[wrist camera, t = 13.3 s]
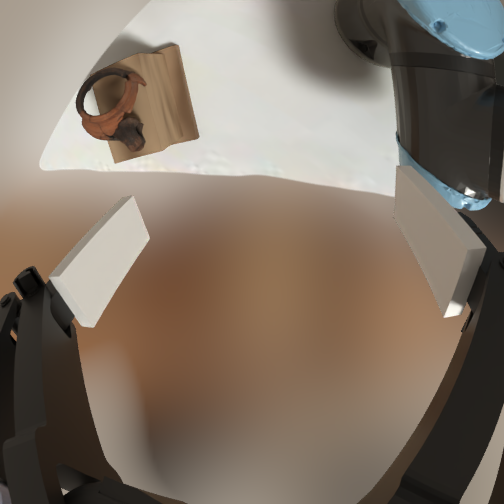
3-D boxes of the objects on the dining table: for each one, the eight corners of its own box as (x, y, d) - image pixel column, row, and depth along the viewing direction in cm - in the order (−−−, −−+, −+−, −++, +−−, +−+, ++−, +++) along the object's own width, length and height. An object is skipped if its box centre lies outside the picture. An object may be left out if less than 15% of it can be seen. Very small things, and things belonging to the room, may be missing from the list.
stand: (178, 45, 33) (150, 41, 25) (199, 137, 42) (177, 154, 34) (114, 69, 35) (78, 74, 27) (136, 152, 45) (106, 172, 36)
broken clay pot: (86, 120, 32) (57, 102, 24) (135, 75, 32) (115, 47, 24) (131, 175, 34) (104, 165, 25) (185, 126, 33) (171, 102, 25)
